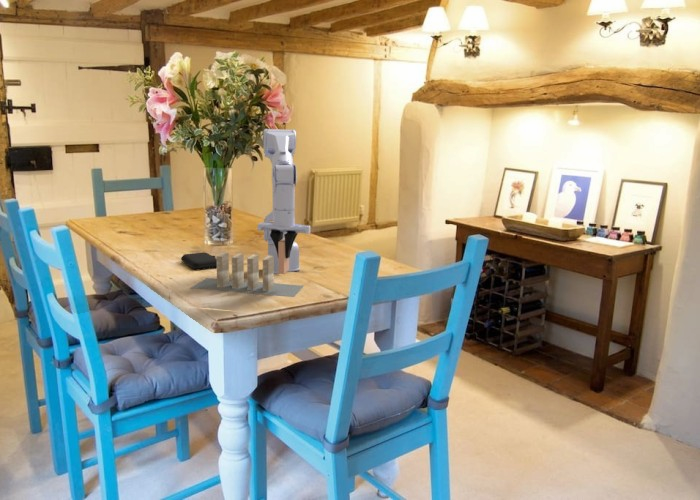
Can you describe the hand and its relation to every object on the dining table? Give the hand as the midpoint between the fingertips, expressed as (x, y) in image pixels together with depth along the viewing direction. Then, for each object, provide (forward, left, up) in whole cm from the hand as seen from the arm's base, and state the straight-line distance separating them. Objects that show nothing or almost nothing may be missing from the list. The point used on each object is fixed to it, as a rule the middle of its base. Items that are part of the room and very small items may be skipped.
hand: (283, 257), depth 162 cm
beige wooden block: (+13, -13, -9) cm, 20 cm away
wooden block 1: (+6, -6, -9) cm, 13 cm away
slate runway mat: (+7, -7, -10) cm, 14 cm away
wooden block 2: (+3, -3, -9) cm, 10 cm away
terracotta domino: (0, 0, -4) cm, 4 cm away
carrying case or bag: (+9, -38, -10) cm, 41 cm away
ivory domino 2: (+9, -10, -9) cm, 16 cm away
